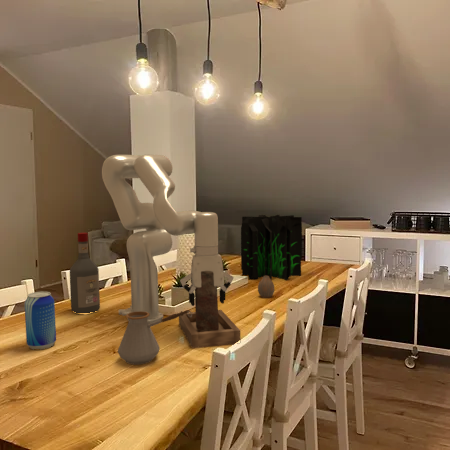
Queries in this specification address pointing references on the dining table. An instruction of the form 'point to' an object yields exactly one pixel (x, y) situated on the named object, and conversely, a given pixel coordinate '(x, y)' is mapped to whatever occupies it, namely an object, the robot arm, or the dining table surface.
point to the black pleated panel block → (271, 246)
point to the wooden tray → (197, 338)
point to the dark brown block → (206, 303)
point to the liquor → (84, 280)
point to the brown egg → (266, 287)
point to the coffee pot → (141, 338)
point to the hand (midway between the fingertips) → (207, 303)
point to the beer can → (40, 320)
